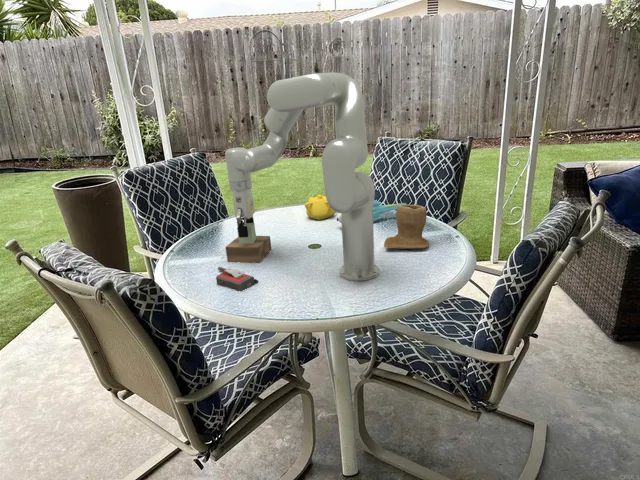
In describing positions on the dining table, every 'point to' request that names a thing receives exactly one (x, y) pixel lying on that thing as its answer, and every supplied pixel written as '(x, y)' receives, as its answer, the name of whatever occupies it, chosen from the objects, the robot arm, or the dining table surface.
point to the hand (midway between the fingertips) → (247, 232)
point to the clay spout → (409, 228)
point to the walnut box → (248, 250)
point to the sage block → (251, 235)
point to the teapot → (318, 208)
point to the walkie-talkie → (235, 279)
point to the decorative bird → (379, 210)
